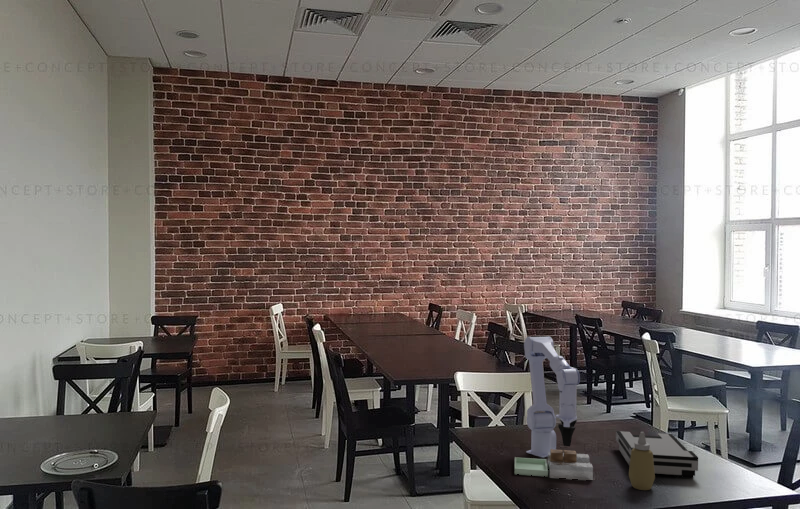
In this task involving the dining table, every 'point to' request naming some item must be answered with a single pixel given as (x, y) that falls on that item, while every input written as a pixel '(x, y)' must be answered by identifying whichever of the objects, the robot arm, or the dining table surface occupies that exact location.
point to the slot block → (571, 468)
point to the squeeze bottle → (641, 465)
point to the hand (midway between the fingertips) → (567, 442)
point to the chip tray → (531, 466)
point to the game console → (662, 454)
